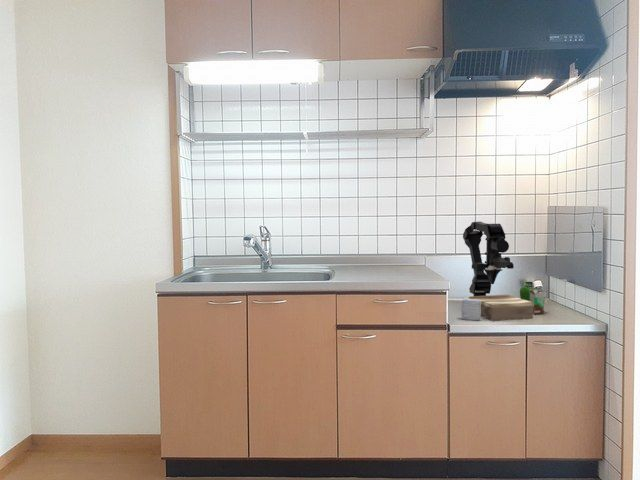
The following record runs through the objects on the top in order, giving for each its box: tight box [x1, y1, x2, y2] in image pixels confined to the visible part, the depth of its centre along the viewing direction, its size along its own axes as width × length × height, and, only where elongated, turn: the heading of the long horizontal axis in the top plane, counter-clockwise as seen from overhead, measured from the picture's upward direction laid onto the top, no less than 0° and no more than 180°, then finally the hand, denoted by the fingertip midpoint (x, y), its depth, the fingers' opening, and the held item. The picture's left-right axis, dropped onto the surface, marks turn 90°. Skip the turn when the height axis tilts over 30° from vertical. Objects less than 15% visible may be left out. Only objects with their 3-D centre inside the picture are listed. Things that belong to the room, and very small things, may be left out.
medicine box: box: [461, 298, 482, 321], centre depth 226 cm, size 8×4×9 cm, turn 71°
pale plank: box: [480, 296, 533, 308], centre depth 231 cm, size 12×20×2 cm, turn 104°
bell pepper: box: [519, 283, 537, 301], centre depth 259 cm, size 8×8×10 cm
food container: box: [530, 288, 548, 315], centre depth 239 cm, size 12×6×10 cm, turn 168°
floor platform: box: [468, 293, 534, 322], centre depth 235 cm, size 20×20×7 cm
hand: (492, 284), depth 240 cm, fingers closed
